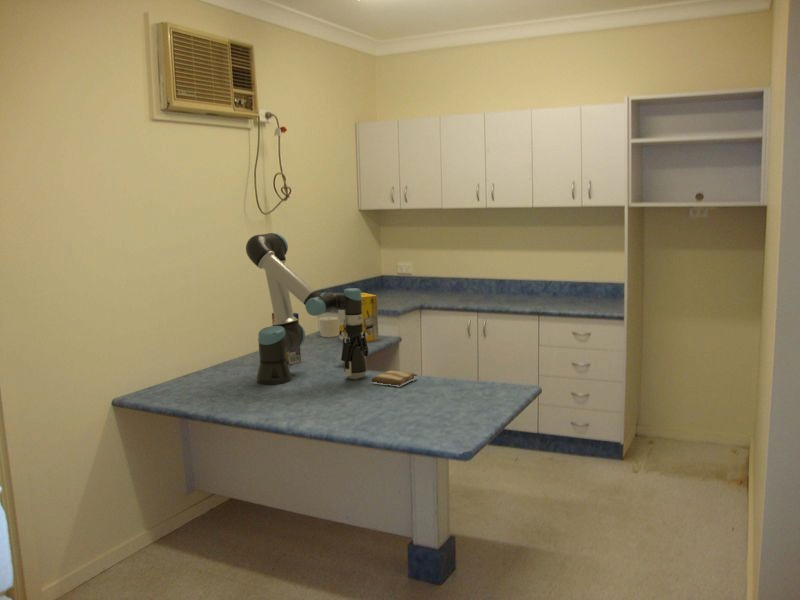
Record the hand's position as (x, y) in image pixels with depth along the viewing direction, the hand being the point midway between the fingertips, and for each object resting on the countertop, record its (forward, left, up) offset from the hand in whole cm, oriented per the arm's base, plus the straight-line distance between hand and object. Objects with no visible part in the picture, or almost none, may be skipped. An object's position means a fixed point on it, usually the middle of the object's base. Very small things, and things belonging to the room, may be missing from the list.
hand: (355, 372), depth 323 cm
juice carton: (+12, +50, -3) cm, 52 cm away
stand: (+2, -19, -2) cm, 19 cm away
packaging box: (+70, +48, -3) cm, 85 cm away
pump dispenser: (0, 0, -3) cm, 3 cm away
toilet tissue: (+73, +70, -3) cm, 101 cm away
